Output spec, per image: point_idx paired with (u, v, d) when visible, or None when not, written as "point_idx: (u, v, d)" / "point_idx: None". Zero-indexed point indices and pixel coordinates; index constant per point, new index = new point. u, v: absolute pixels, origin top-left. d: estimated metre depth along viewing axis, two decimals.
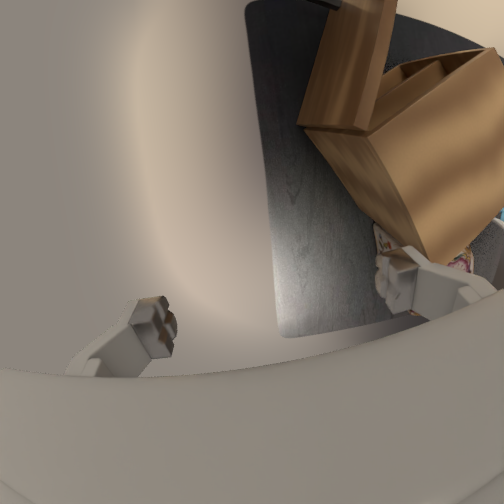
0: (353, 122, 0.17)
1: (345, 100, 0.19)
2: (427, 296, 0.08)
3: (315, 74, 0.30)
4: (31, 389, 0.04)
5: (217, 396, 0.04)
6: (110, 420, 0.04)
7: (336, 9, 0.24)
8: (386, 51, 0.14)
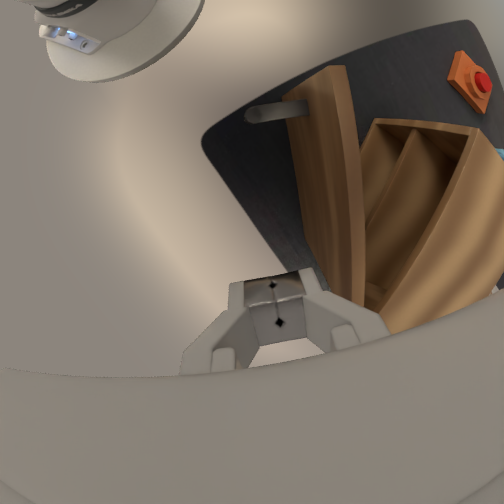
0: None
1: (340, 292, 0.26)
2: (316, 327, 0.08)
3: (302, 196, 0.37)
4: (31, 389, 0.04)
5: (217, 396, 0.04)
6: (110, 420, 0.04)
7: (291, 117, 0.29)
8: (363, 262, 0.20)
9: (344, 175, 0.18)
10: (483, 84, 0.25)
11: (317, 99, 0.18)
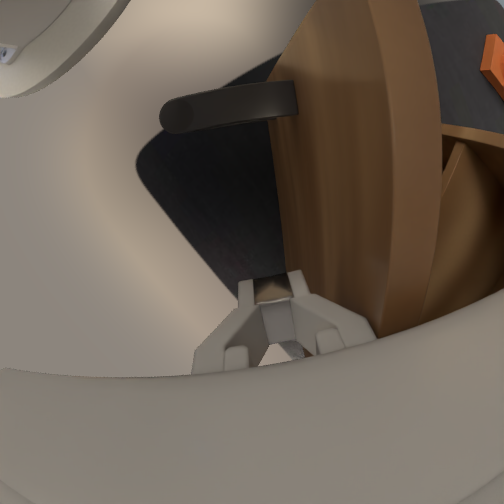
0: None
1: None
2: (304, 330, 0.08)
3: (286, 241, 0.25)
4: (31, 389, 0.04)
5: (217, 396, 0.04)
6: (110, 420, 0.04)
7: None
8: None
9: (374, 308, 0.06)
10: None
11: (315, 73, 0.07)
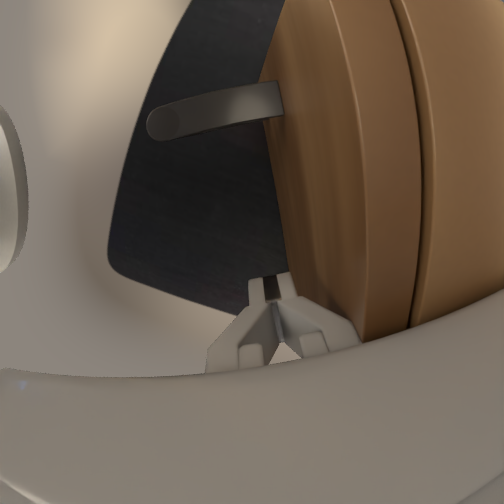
0: None
1: None
2: (291, 332, 0.08)
3: (287, 242, 0.25)
4: (31, 389, 0.04)
5: (217, 396, 0.04)
6: (110, 420, 0.04)
7: None
8: None
9: (356, 314, 0.06)
10: None
11: (293, 73, 0.07)
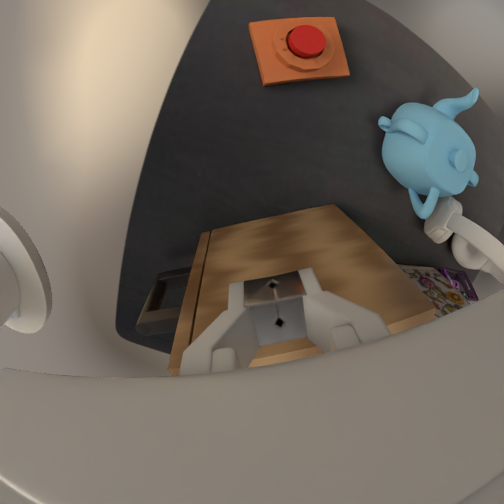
0: None
1: None
2: (316, 327, 0.08)
3: None
4: (31, 389, 0.04)
5: (217, 396, 0.04)
6: (110, 420, 0.04)
7: None
8: None
9: None
10: (306, 48, 0.21)
11: None
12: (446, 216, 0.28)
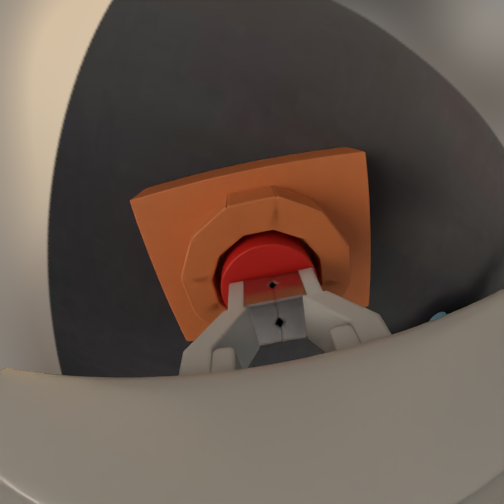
0: None
1: None
2: (316, 327, 0.08)
3: None
4: (31, 389, 0.04)
5: (217, 396, 0.04)
6: (110, 420, 0.04)
7: None
8: None
9: None
10: None
11: None
12: None
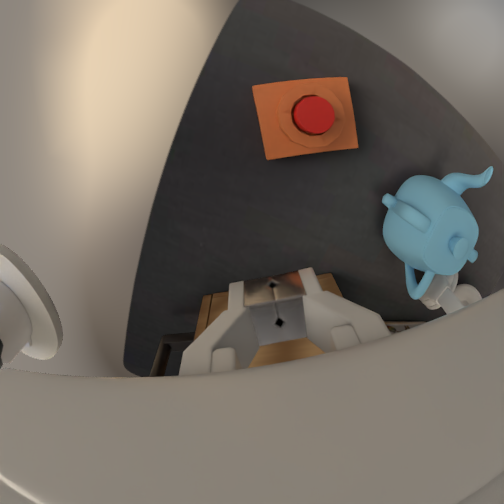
0: None
1: None
2: (316, 327, 0.08)
3: None
4: (31, 389, 0.04)
5: (217, 396, 0.04)
6: (110, 420, 0.04)
7: None
8: None
9: None
10: (312, 126, 0.22)
11: None
12: (439, 290, 0.29)
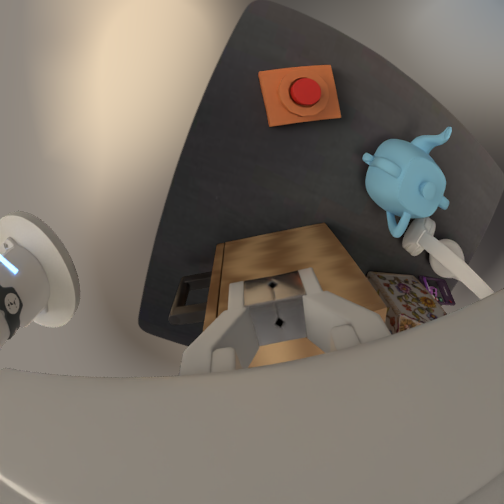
0: None
1: None
2: (316, 327, 0.08)
3: None
4: (31, 389, 0.04)
5: (217, 396, 0.04)
6: (110, 420, 0.04)
7: None
8: None
9: None
10: (304, 99, 0.29)
11: None
12: (419, 234, 0.36)
